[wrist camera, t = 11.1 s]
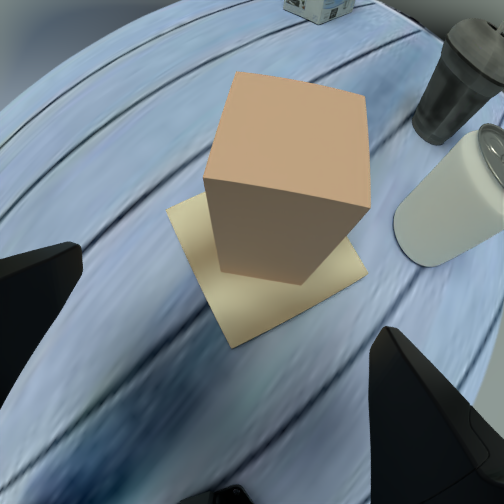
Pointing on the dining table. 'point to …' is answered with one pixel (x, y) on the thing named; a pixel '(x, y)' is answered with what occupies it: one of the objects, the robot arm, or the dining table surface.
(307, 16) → the light bulb box
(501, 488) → the robot arm
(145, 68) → the dining table surface
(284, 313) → the brass board
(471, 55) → the beverage cup
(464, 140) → the can
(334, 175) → the tall block
